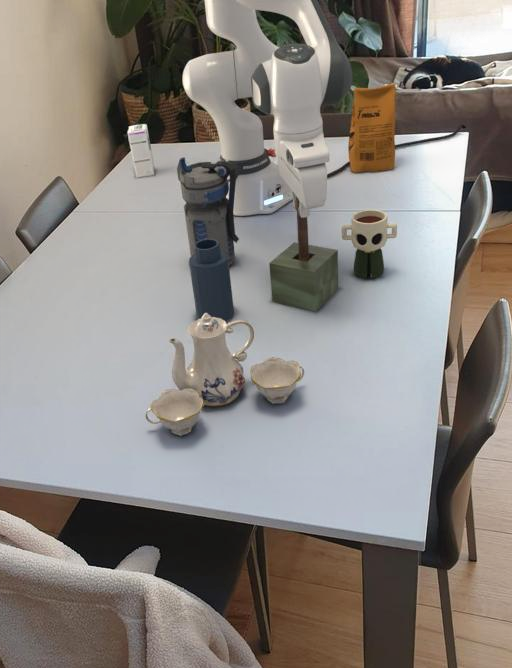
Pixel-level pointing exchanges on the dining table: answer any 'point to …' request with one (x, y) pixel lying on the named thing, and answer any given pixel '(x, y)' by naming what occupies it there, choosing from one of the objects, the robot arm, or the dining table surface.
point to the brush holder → (304, 277)
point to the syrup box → (141, 150)
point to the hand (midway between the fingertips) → (301, 212)
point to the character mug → (369, 240)
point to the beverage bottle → (209, 203)
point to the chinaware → (217, 376)
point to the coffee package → (372, 129)
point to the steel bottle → (211, 280)
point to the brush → (302, 235)
